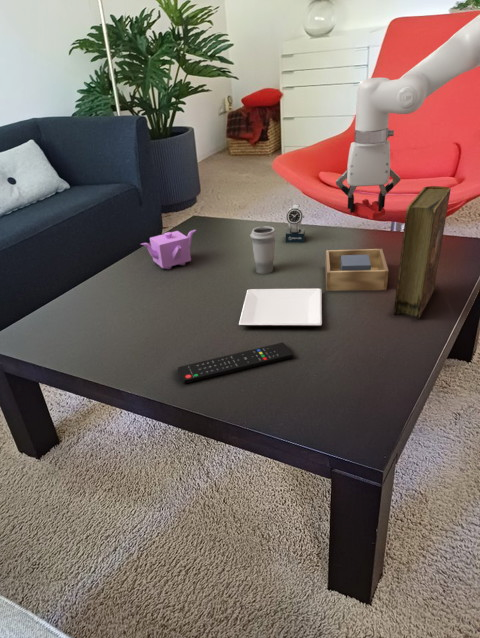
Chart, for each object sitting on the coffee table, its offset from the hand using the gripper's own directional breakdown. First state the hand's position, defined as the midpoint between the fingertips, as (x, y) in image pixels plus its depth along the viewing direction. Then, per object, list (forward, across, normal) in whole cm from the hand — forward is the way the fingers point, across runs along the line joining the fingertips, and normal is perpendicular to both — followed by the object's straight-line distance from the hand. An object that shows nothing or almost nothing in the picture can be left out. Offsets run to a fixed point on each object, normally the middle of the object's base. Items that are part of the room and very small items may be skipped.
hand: (365, 210), depth 136 cm
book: (+16, -11, +23) cm, 30 cm away
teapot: (+15, +55, -2) cm, 57 cm away
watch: (+15, +19, -20) cm, 32 cm away
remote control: (+16, +28, +52) cm, 61 cm away
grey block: (+15, +2, +10) cm, 18 cm away
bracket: (+1, -1, 0) cm, 2 cm away
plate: (+16, +20, +28) cm, 38 cm away
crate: (+15, +2, +10) cm, 18 cm away
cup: (+15, +26, +3) cm, 31 cm away
